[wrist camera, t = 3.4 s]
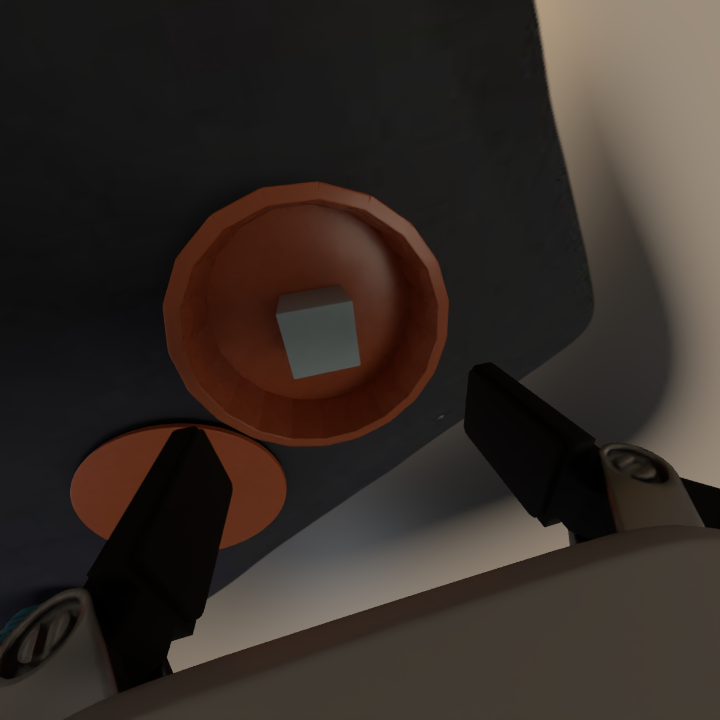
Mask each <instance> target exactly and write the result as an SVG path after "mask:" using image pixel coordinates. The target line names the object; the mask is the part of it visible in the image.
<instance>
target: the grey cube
mask: <svg viewBox="0 0 720 720" xmlns="http://www.w3.org/2000/svg"><path fill="white" fill-rule="evenodd" d="M276 317H277V321H278V324H279V328H280V332H281V335H282V339H283V342H284V346H285V349H286V353H287V356H288V360H289V364H290V367H291V371H292V374H293V378H294V379H298V378H303V377H308V376H313V375H317V374H322V373H327V372H332V371H336V370H341V369H346V368H351V367H355V366H360V365H361V364H360V356H359V348H358V341H357V333H356V325H355V318H354V310H353V302H352V300H351V299H350V297H349V296H348V295H347V293H346V292H345V290H344V289H343V287H342V286H341V285H336V286H330V287H324V288H318V289H312V290H306V291H300V292H294V293H288V294H282V295H280V296H279V301H278V306H277V312H276Z"/></svg>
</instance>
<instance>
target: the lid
mask: <svg viewBox="0 0 720 720" xmlns="http://www.w3.org/2000/svg"><path fill="white" fill-rule="evenodd" d="M190 426H196V427H197V428H198V429H203V430H204V431H205V433H206V435H207V437H208V438H209V440H210V442H211V444H212V446H213V448H214V450H215V452H216V453H217V455H218V457H219V459H220V461H221V463H222V465H223V467H224V469H225V470H226V472H227V474H228V476H229V478H230V480H231V482H232V485H233V493H232V497H231V501H230V506H229V510H228V514H227V518H226V522H225V526H224V530H223V535H222V539H221V543H220V547H219V549H223V548H226V547H229V546H232V545H235V544H237V543H240V542H242V541H244V540H246V539H248V538H250V537H252V536H254V535H255V534H257V533H259V532H260V531H262V530H263V529H264V528H265V527H267V526H268V525H269V524H270V523H271V522H272V521H273V520H274V519H275V517H276V516H277V515H278V513H279V512H280V510H281V508H282V506H283V504H284V501H285V498H286V490H287V486H286V477H285V474H284V471H283V469H282V467H281V465H280V463H279V462H278V461H277V459H276V458H275V457H274V456H273V455H272V454H271V453H270V452H269V451H268V450H267V449H266V448H265V447H263V446H262V445H261V444H259V443H258V442H256V441H254V440H252V439H250V438H249V437H246V436H244V435H242V434H239V433H237V432H234V431H231V430H227V429H224V428H220V427H215V426H210V425H202V424H189V423H174V424H161V425H155V426H149V427H144V428H140V429H137V430H133V431H130V432H127V433H124V434H122V435H119V436H117V437H115V438H113V439H111V440H109V441H107V442H106V443H104V444H102V445H101V446H100V447H98V448H97V449H95V450H94V451H93V452H92V453H91V454H90V455H89V456H88V457H87V458H86V459H85V460H84V461H83V462H82V463H81V465H80V466H79V468H78V469H77V471H76V472H75V475H74V477H73V480H72V483H71V490H70V494H71V502H72V505H73V507H74V510H75V512H76V513H77V515H78V516H79V518H80V519H81V520H82V521H83V522H84V524H85V525H86V526H87V527H89V528H90V529H91V530H92V531H94V532H95V533H96V534H98V535H100V536H101V537H103V538H105V539H107V540H108V539H109V537H110V535H111V534H112V532H113V530H114V529H115V527H116V525H117V524H118V522H119V520H120V519H121V517H122V515H123V514H124V512H125V510H126V509H127V507H128V505H129V504H130V502H131V500H132V499H133V497H134V495H135V494H136V492H137V490H138V489H139V487H140V485H141V483H142V482H143V480H144V478H145V477H146V475H147V473H148V472H149V470H150V468H151V467H152V465H153V463H154V462H155V460H156V458H157V457H158V455H159V453H160V452H161V450H162V448H163V447H164V445H165V443H166V442H167V440H168V438H169V437H170V435H171V433H172V432H173V431H174V430H177V429H181V428H186V427H190Z"/></svg>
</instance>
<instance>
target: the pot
mask: <svg viewBox="0 0 720 720" xmlns="http://www.w3.org/2000/svg"><path fill="white" fill-rule="evenodd" d="M336 285H341V286H342V287H343V289H344V290H345V292H346V293H347V295H348V296H349V297H350V299H351V300H352V302H353V310H354V318H355V325H356V333H357V341H358V348H359V356H360V364H361V365H360V366H355V367H351V368H346V369H341V370H336V371H332V372H327V373H322V374H317V375H313V376H308V377H303V378H298V379H294V378H293V374H292V371H291V367H290V364H289V360H288V356H287V353H286V349H285V346H284V342H283V339H282V335H281V332H280V328H279V324H278V321H277V317H276V312H277V306H278V301H279V296H280V295H282V294H288V293H294V292H300V291H306V290H312V289H318V288H324V287H330V286H336ZM448 305H449V301H448V296H447V292H446V289H445V285H444V282H443V278H442V274H441V271H440V267H439V263H438V261H437V259H436V258H435V256H434V255H433V253H432V252H431V250H430V249H429V247H428V246H427V245H426V243H425V242H424V240H423V239H422V237H421V236H420V234H419V233H418V232H417V230H416V229H415V227H414V226H413V225H412V224H411V223H410V222H409V221H408V220H406V219H405V218H403V217H402V216H400V215H399V214H398V213H396V212H395V211H393V210H392V209H390V208H389V207H388V206H386V205H385V204H383V203H382V202H381V201H379V200H378V199H376V198H375V197H373V196H372V195H371V196H370V195H369V194H366V193H362V192H358V191H354V190H351V189H347V188H343V187H339V186H335V185H331V184H328V183H324V182H317V181H313V182H304V183H295V184H286V185H278V186H269V187H262V188H259V189H257V190H255V191H253V192H251V193H250V194H248V195H246V196H244V197H242V198H240V199H238V200H237V201H235V202H233V203H231V204H229V205H227V206H226V207H224V208H222V209H220V210H218V211H216V212H214V213H213V214H212V215H211V216H209V217H208V218H207V220H206V221H205V222H204V223H203V224H202V226H201V227H200V228H199V229H198V231H197V232H196V233H195V234H194V236H193V237H192V238H191V239H190V241H189V242H188V243H187V244H186V246H185V247H184V248H183V249H182V251H181V252H180V253H179V254H178V256H177V258H176V259H175V262H174V266H173V270H172V273H171V277H170V280H169V284H168V288H167V291H166V295H165V298H164V302H163V315H164V323H165V331H166V339H167V347H168V353H169V355H170V357H171V359H172V361H173V363H174V365H175V367H176V368H177V370H178V372H179V374H180V376H181V378H182V380H183V382H184V384H185V386H186V387H187V389H188V391H189V392H190V393H191V394H192V395H193V396H194V397H195V398H196V399H197V400H198V401H199V402H200V403H201V404H202V405H203V406H204V407H205V408H206V409H207V410H209V411H210V412H211V413H212V414H213V415H214V416H215V417H216V418H217V419H218V420H219V421H221V422H223V423H225V424H227V425H229V426H231V427H233V428H235V429H237V430H238V431H240V432H242V433H244V434H246V435H248V436H250V437H252V438H253V437H254V438H255V439H259V440H264V441H268V442H272V443H277V444H281V445H285V446H327V445H331V444H336V443H340V442H344V441H348V440H352V439H356V438H359V437H361V436H363V435H365V434H367V433H369V432H371V431H373V430H375V429H377V428H379V427H381V426H383V425H385V424H386V423H388V422H390V421H391V420H392V419H393V418H395V417H396V416H397V415H398V414H399V413H401V412H402V411H403V410H404V409H405V408H406V407H408V406H409V405H410V404H411V403H412V402H413V401H414V400H416V398H417V397H418V395H419V394H420V392H421V391H422V390H423V388H424V387H425V385H426V384H427V383H428V381H429V380H430V378H431V377H432V375H433V374H434V372H435V370H436V367H437V364H438V362H439V359H440V356H441V353H442V350H443V348H444V345H445V342H446V338H447V325H448Z"/></svg>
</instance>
